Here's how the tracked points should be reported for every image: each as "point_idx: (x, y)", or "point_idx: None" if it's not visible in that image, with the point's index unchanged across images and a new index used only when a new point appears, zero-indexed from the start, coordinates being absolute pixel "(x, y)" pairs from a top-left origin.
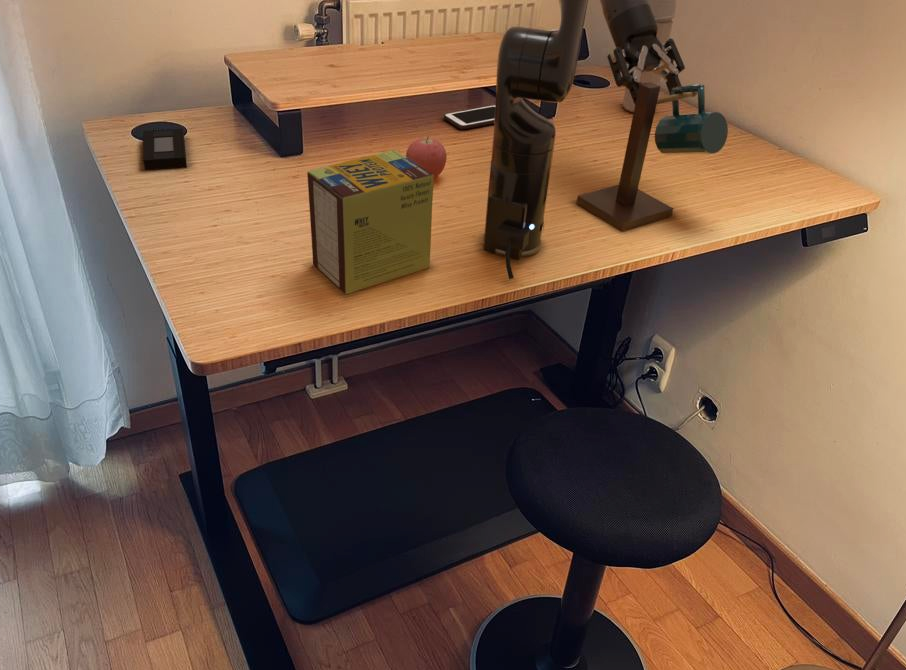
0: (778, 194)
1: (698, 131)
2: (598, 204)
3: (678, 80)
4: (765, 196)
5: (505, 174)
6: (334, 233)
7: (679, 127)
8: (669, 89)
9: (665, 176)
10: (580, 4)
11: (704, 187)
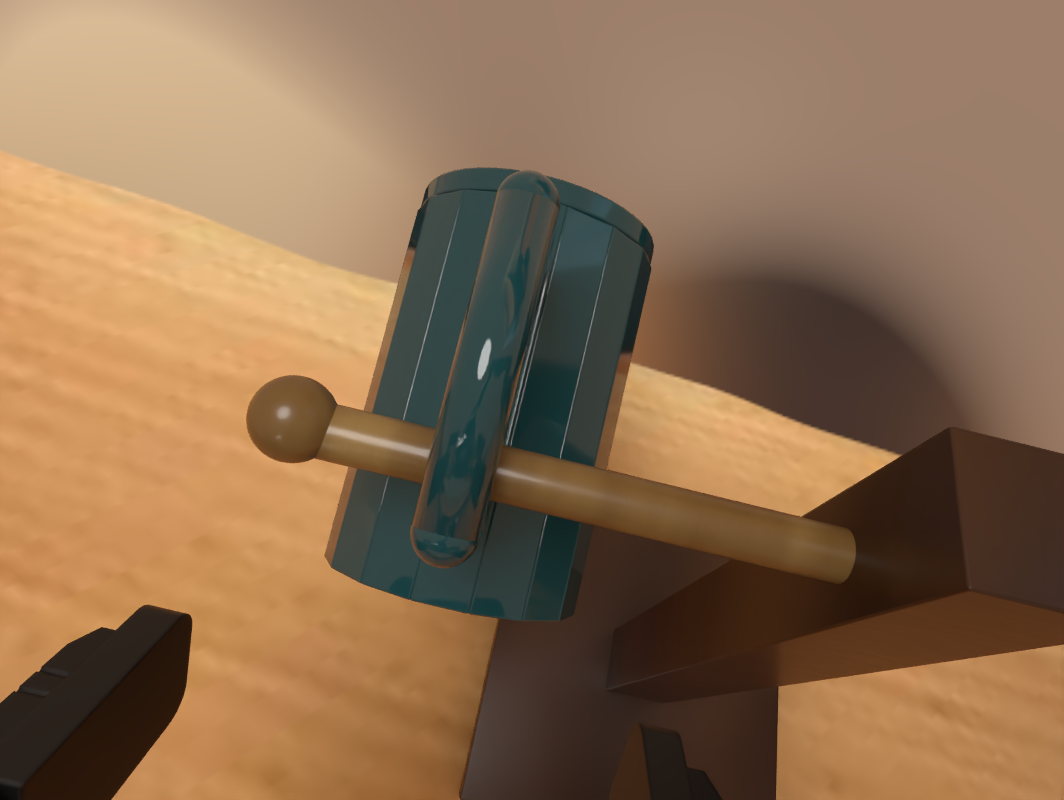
0: (36, 325)
1: (649, 263)
2: (753, 733)
3: (31, 712)
4: (90, 349)
5: None
6: None
7: (610, 409)
8: (105, 796)
9: (157, 751)
10: None
11: (163, 550)
